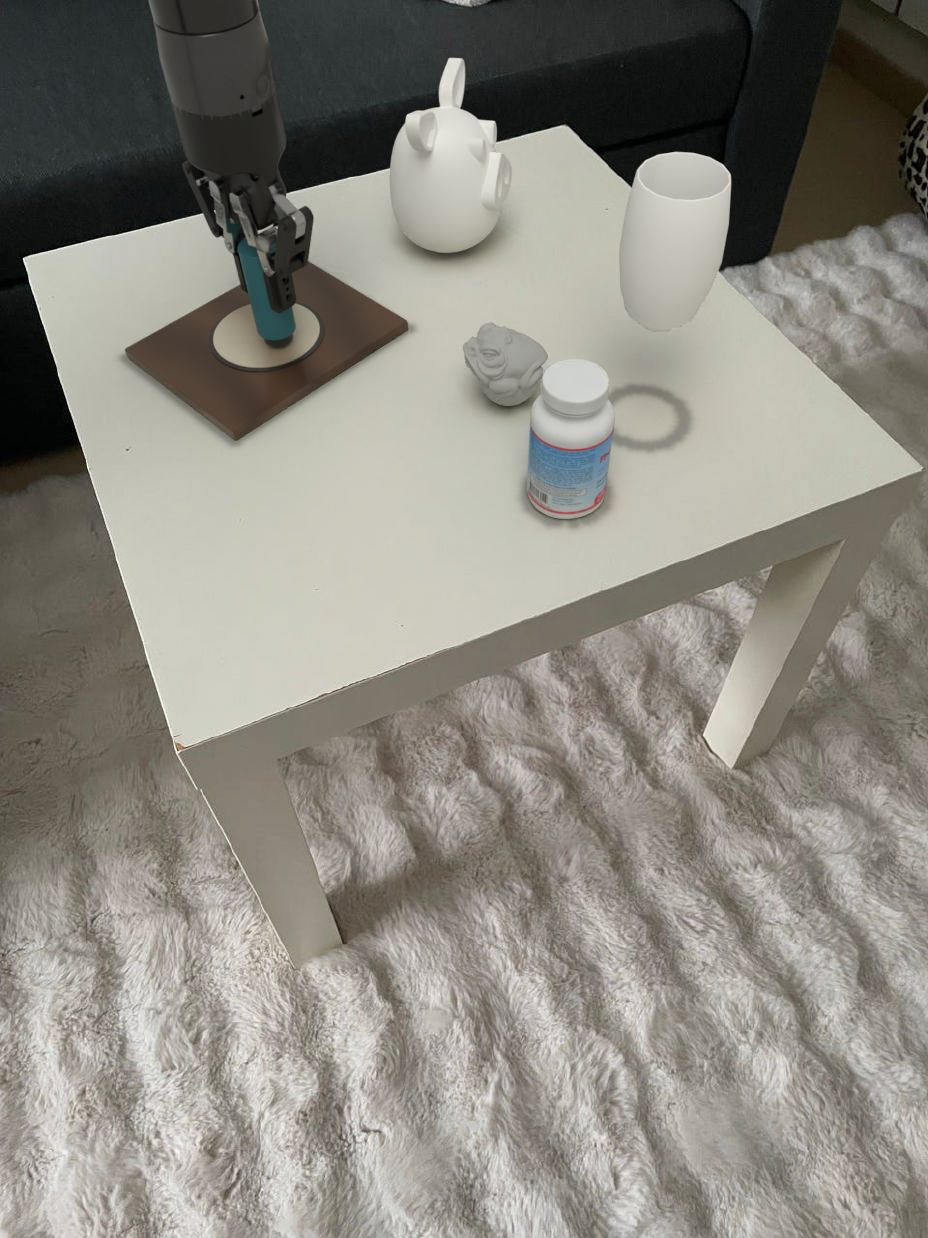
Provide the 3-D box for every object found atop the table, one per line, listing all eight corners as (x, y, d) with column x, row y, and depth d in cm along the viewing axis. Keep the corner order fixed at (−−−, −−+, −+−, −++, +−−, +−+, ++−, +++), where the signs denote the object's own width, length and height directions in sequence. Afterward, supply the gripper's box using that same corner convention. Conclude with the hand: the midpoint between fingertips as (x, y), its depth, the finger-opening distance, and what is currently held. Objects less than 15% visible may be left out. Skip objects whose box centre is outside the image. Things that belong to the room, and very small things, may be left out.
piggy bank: (512, 275, 89) (515, 117, 77) (391, 277, 89) (376, 120, 77) (509, 205, 96) (512, 50, 84) (398, 207, 97) (384, 53, 85)
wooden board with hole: (235, 441, 77) (232, 430, 76) (127, 357, 83) (123, 346, 82) (408, 329, 85) (407, 318, 84) (297, 261, 91) (295, 250, 90)
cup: (626, 458, 74) (666, 216, 57) (582, 404, 78) (607, 163, 61) (702, 430, 76) (762, 188, 59) (655, 378, 80) (699, 137, 63)
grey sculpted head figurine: (461, 378, 80) (459, 310, 75) (540, 372, 81) (544, 303, 75) (467, 426, 77) (465, 358, 71) (550, 419, 77) (555, 351, 71)
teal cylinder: (275, 355, 80) (255, 262, 73) (251, 338, 82) (228, 245, 75) (305, 337, 82) (288, 244, 75) (281, 321, 83) (261, 228, 76)
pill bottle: (613, 516, 71) (631, 403, 62) (535, 527, 70) (542, 414, 61) (593, 461, 74) (608, 346, 65) (519, 471, 74) (523, 357, 65)
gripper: (120, 72, 66) (184, 284, 80) (241, 138, 60) (288, 354, 74) (205, 38, 69) (252, 247, 83) (328, 97, 63) (357, 312, 77)
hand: (269, 297), depth 78 cm, fingers closed on teal cylinder, 3 cm apart
